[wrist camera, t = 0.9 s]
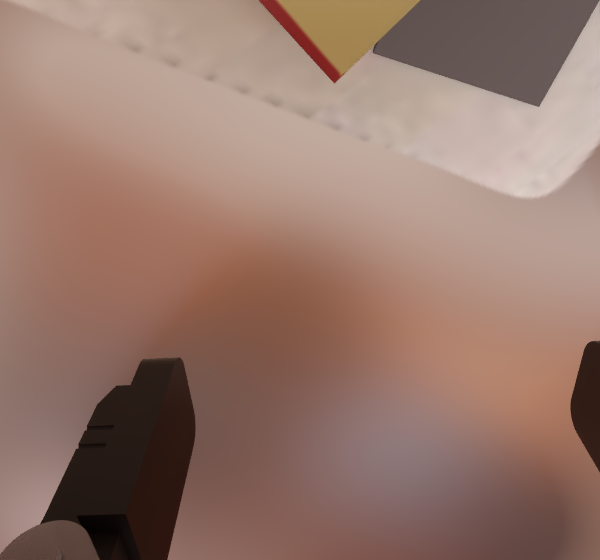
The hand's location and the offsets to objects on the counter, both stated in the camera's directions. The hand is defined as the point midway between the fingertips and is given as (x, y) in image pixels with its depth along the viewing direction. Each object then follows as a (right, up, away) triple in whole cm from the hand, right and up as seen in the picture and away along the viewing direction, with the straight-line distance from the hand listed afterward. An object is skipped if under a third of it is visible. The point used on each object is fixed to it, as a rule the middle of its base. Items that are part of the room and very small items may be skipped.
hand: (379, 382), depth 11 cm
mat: (+10, +19, +21) cm, 30 cm away
